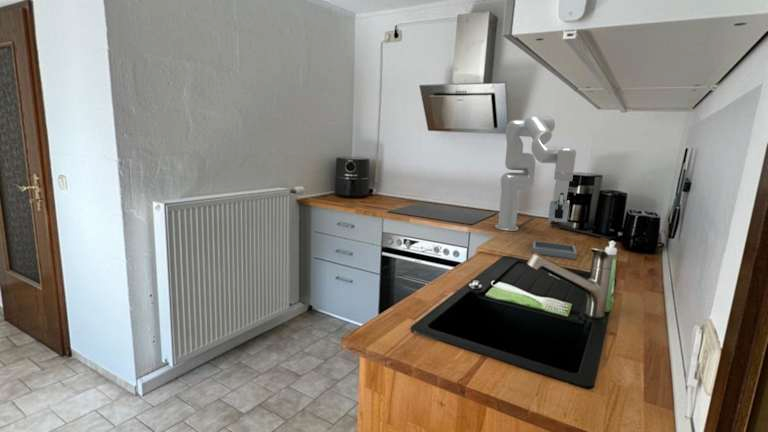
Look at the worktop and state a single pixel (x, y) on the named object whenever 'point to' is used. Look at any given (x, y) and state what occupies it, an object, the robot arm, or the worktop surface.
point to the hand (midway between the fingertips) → (558, 216)
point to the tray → (555, 250)
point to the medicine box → (552, 212)
